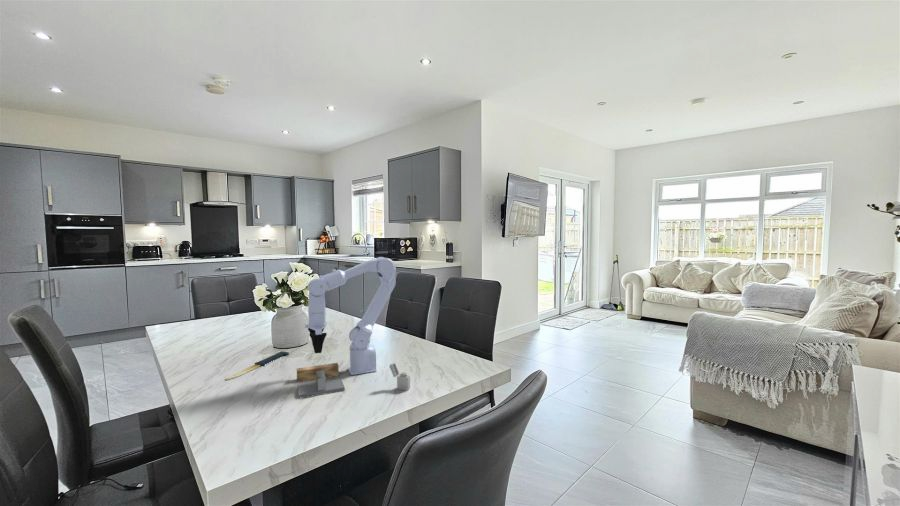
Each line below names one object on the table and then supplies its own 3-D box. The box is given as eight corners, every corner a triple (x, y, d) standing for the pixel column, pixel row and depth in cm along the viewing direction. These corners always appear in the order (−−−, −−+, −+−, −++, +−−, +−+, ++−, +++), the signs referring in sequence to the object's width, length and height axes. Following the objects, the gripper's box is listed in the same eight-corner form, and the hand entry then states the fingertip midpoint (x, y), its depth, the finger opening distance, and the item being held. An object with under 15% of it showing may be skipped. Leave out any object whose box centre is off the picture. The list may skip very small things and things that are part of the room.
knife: (289, 351, 159) (231, 377, 130) (289, 355, 159) (231, 382, 130) (280, 351, 160) (221, 376, 131) (280, 354, 160) (221, 381, 131)
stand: (341, 381, 128) (340, 367, 128) (344, 390, 121) (344, 375, 121) (297, 388, 123) (297, 374, 122) (298, 398, 115) (298, 382, 115)
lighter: (410, 388, 122) (410, 365, 122) (407, 390, 120) (407, 366, 120) (392, 385, 125) (391, 362, 124) (389, 387, 123) (389, 363, 123)
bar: (337, 373, 137) (337, 362, 137) (338, 376, 134) (338, 365, 134) (296, 379, 131) (296, 368, 131) (297, 382, 128) (296, 371, 128)
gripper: (303, 309, 137) (304, 345, 137) (306, 317, 124) (306, 357, 124) (323, 308, 140) (324, 343, 140) (328, 315, 126) (328, 354, 127)
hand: (317, 349), depth 132 cm, fingers open, 7 cm apart
